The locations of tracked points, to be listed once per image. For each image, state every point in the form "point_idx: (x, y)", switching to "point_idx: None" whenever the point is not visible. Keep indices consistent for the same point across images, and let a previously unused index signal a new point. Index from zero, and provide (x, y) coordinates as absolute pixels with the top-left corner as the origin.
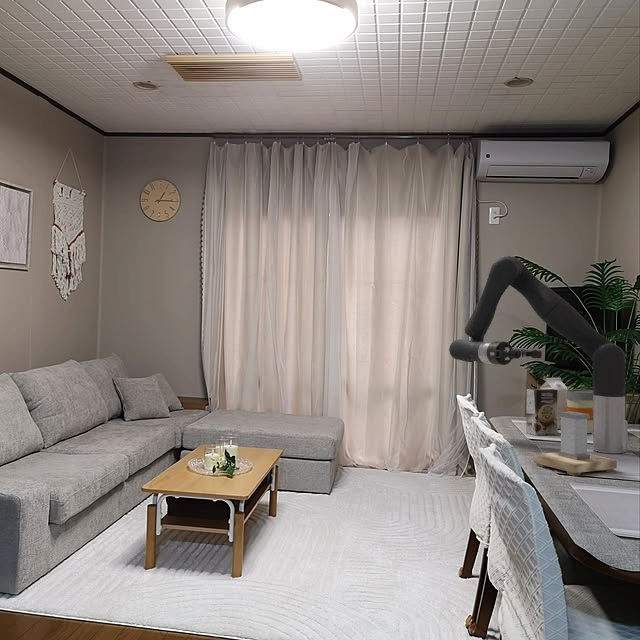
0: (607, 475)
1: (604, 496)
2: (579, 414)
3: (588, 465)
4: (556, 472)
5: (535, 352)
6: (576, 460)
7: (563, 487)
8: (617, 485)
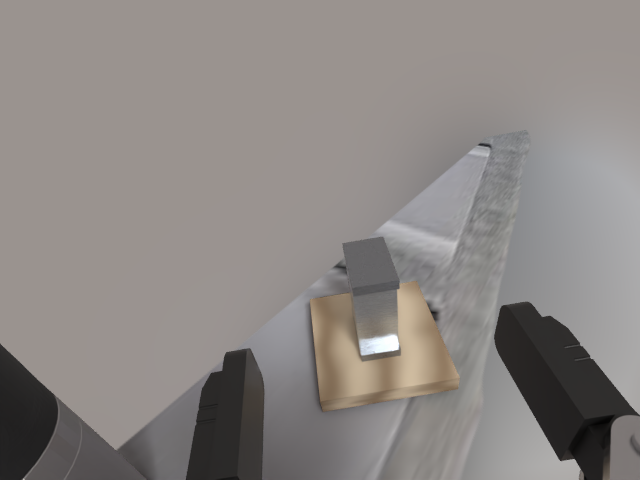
0: None
1: (434, 215)
2: (369, 243)
3: None
4: None
5: (247, 410)
6: None
7: (470, 247)
8: None
